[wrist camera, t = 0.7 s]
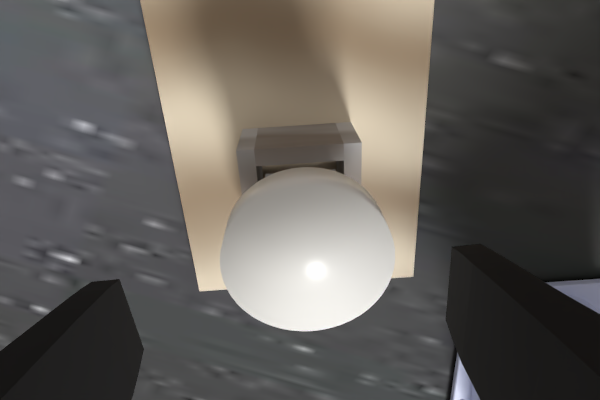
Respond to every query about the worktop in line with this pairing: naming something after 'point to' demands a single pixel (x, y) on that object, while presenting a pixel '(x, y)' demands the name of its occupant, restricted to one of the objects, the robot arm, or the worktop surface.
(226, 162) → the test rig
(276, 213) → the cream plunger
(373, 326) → the worktop surface
